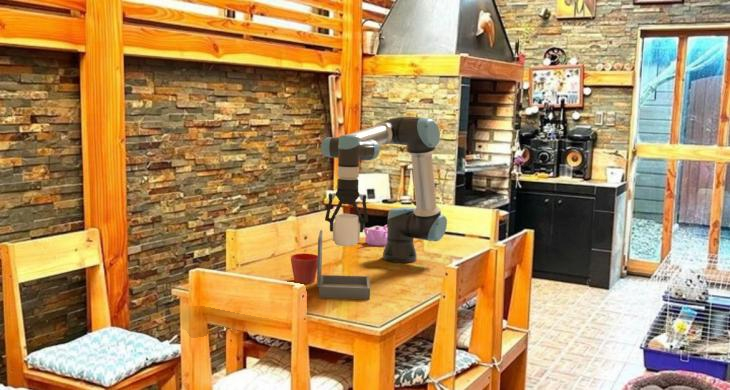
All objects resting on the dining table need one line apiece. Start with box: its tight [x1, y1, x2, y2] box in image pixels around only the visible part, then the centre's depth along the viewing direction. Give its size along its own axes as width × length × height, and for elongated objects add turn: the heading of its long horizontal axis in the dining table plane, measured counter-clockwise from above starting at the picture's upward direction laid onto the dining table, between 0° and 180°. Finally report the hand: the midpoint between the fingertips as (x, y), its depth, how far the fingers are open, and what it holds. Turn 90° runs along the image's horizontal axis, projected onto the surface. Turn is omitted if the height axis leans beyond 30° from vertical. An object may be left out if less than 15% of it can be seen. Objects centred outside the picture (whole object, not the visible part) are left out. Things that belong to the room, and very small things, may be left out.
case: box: [316, 229, 371, 300], centre depth 256 cm, size 19×19×21 cm
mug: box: [334, 213, 359, 247], centre depth 253 cm, size 12×8×10 cm
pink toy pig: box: [363, 224, 388, 247], centre depth 344 cm, size 12×14×9 cm
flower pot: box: [290, 252, 318, 284], centre depth 269 cm, size 11×11×10 cm
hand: (346, 240), depth 254 cm, fingers closed on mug, 8 cm apart
